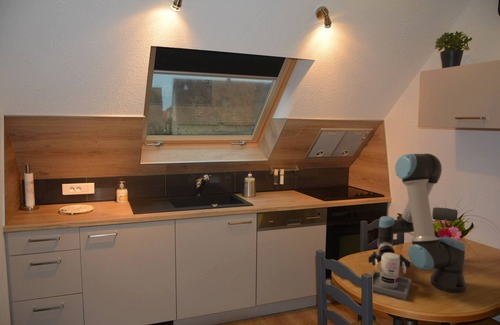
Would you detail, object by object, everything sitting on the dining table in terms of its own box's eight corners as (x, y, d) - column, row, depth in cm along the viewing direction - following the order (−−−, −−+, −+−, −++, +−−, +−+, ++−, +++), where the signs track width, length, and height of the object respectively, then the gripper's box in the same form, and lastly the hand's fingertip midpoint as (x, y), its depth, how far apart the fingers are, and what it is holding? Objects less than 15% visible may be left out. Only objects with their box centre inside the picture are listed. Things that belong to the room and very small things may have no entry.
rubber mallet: (452, 259, 212) (457, 208, 208) (453, 263, 205) (458, 211, 201) (428, 255, 217) (432, 205, 213) (428, 259, 210) (433, 208, 206)
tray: (411, 285, 178) (411, 279, 178) (405, 300, 163) (406, 294, 163) (373, 276, 187) (373, 270, 187) (364, 290, 172) (364, 284, 172)
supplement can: (390, 280, 180) (392, 251, 178) (401, 288, 172) (404, 258, 170) (375, 282, 178) (378, 252, 176) (386, 290, 170) (389, 259, 168)
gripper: (411, 261, 188) (418, 280, 168) (362, 256, 195) (363, 273, 174) (412, 247, 187) (419, 264, 167) (362, 242, 194) (364, 257, 173)
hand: (390, 268), depth 170 cm, fingers open, 11 cm apart
